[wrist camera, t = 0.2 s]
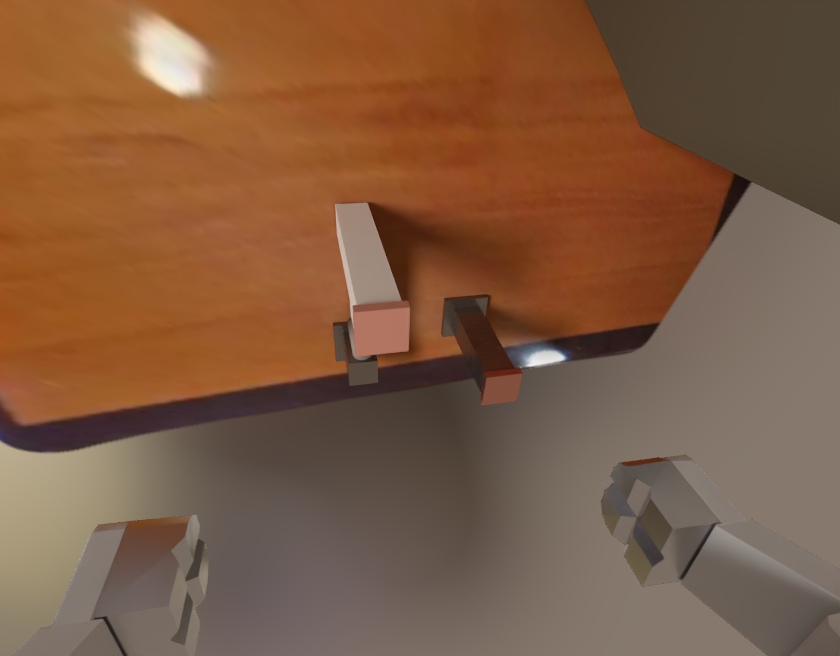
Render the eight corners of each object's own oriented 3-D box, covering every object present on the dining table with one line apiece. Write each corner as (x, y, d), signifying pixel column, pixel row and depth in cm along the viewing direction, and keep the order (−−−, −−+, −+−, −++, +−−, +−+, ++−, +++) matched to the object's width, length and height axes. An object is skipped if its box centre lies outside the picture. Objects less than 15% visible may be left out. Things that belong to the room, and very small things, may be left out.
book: (724, 61, 46) (1115, 159, 25) (639, 131, 49) (930, 276, 27) (645, -200, 34) (1306, -457, 12) (536, -87, 36) (928, -137, 15)
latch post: (444, 298, 55) (480, 373, 45) (486, 294, 56) (530, 366, 46) (441, 333, 58) (474, 411, 48) (481, 329, 59) (521, 405, 49)
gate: (331, 201, 45) (353, 312, 30) (370, 199, 46) (410, 307, 31) (340, 330, 54) (360, 463, 39) (372, 327, 54) (404, 457, 40)
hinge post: (333, 322, 53) (337, 357, 49) (378, 318, 54) (387, 352, 50) (335, 358, 56) (340, 393, 52) (378, 353, 57) (387, 388, 53)
